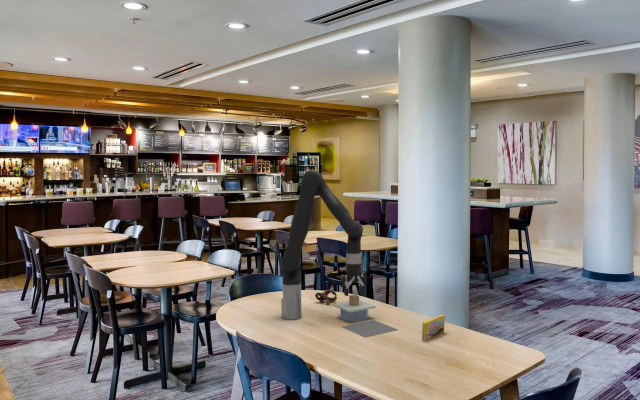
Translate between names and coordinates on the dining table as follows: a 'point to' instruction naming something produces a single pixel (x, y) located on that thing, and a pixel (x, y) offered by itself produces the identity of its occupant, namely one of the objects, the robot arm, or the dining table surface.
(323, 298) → the brown looped knot
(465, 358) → the dining table surface
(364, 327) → the mat
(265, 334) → the dining table surface
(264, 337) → the dining table surface
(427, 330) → the candy box
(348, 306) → the lid
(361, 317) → the bowl
